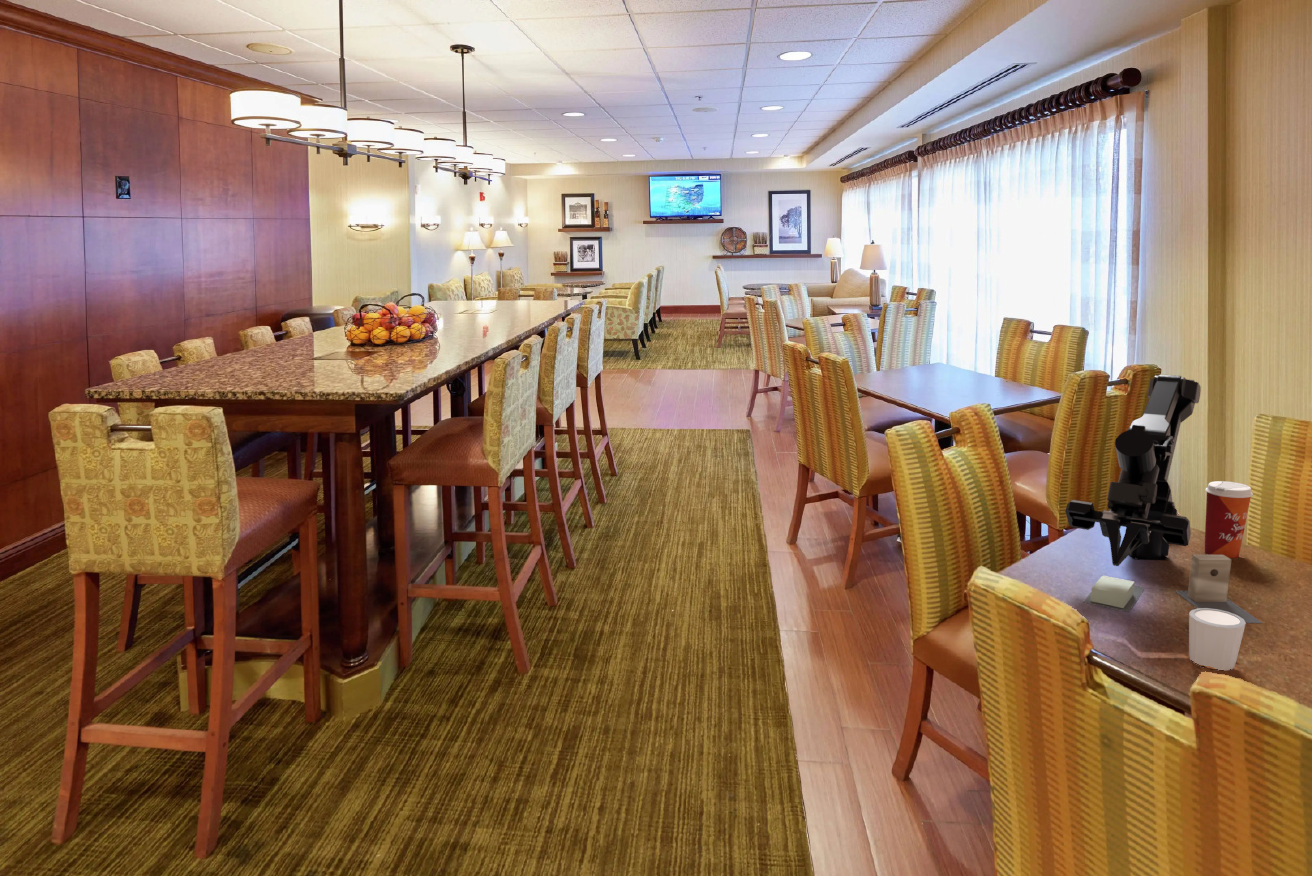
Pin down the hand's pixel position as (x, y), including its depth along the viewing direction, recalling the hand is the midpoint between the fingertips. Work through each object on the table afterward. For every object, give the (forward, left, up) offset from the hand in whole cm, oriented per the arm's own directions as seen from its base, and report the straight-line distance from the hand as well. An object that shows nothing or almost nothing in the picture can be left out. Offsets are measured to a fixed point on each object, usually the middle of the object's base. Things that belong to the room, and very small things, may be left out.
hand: (1115, 564), depth 144 cm
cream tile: (+15, +1, -6) cm, 17 cm away
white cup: (+6, -22, -7) cm, 23 cm away
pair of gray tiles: (+7, 0, -7) cm, 10 cm away
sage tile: (+2, +3, -5) cm, 6 cm away
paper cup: (+30, +24, -7) cm, 39 cm away
